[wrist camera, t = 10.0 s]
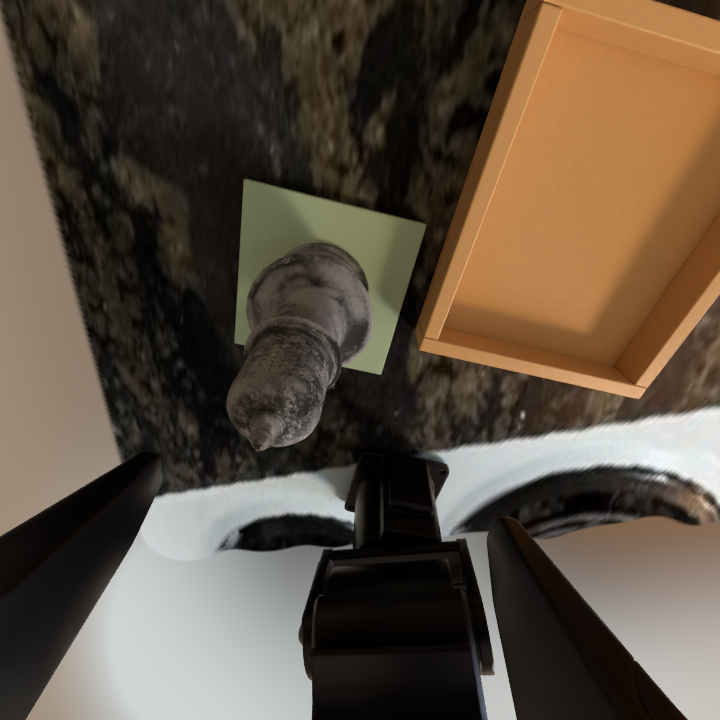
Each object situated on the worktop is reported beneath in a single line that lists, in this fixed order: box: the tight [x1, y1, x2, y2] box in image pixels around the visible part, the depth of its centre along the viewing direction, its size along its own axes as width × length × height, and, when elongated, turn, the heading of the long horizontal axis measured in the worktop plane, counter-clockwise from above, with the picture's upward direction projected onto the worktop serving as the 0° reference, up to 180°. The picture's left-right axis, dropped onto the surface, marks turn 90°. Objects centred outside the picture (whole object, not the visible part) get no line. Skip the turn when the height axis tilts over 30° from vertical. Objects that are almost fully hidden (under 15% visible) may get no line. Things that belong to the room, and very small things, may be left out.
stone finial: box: [226, 243, 374, 451], centre depth 15 cm, size 6×6×12 cm
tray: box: [415, 0, 720, 399], centre depth 17 cm, size 15×13×2 cm
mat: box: [234, 179, 426, 375], centre depth 20 cm, size 9×9×1 cm
